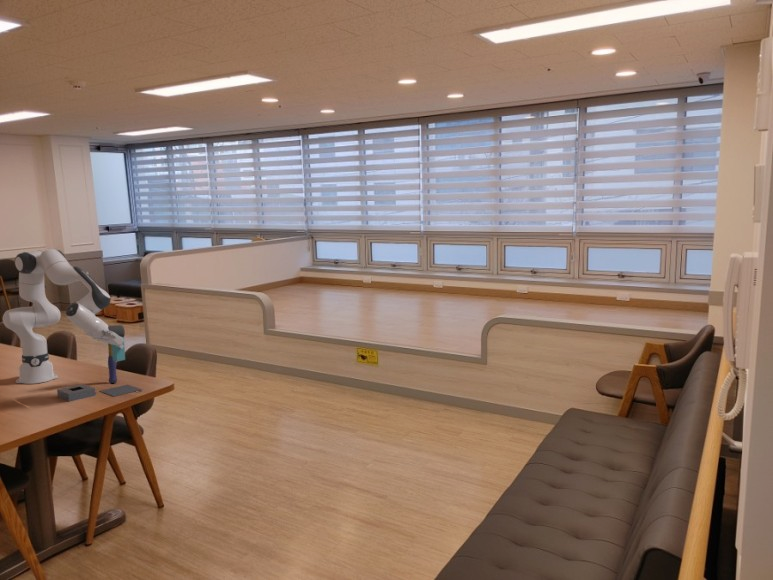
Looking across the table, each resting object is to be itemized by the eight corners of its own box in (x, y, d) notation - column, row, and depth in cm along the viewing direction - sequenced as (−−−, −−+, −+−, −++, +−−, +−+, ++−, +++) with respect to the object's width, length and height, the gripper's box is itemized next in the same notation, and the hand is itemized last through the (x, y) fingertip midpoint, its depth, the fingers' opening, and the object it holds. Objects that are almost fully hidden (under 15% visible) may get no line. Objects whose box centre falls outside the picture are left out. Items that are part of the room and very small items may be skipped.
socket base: (57, 397, 271) (57, 389, 270) (83, 391, 280) (83, 383, 279) (69, 402, 263) (68, 394, 263) (95, 396, 273) (95, 388, 272)
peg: (112, 360, 278) (111, 337, 276) (121, 358, 281) (119, 336, 280) (117, 361, 275) (115, 338, 274) (125, 359, 278) (123, 337, 277)
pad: (99, 392, 279) (99, 390, 279) (127, 386, 290) (127, 384, 290) (113, 397, 270) (113, 396, 270) (142, 391, 281) (142, 389, 281)
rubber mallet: (123, 379, 301) (120, 323, 298) (128, 382, 296) (125, 325, 292) (98, 384, 293) (94, 326, 290) (102, 387, 288) (98, 328, 284)
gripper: (113, 326, 264) (134, 344, 273) (92, 322, 277) (113, 338, 286) (104, 337, 261) (126, 355, 270) (83, 332, 274) (105, 349, 283)
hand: (119, 346), depth 278 cm, fingers closed on peg, 4 cm apart
